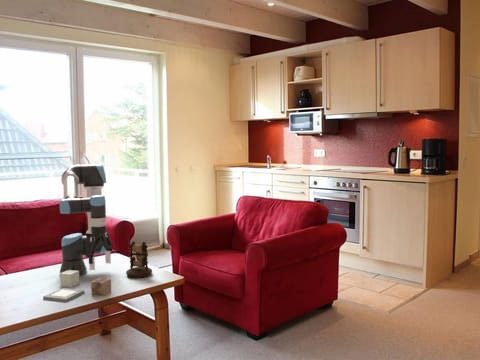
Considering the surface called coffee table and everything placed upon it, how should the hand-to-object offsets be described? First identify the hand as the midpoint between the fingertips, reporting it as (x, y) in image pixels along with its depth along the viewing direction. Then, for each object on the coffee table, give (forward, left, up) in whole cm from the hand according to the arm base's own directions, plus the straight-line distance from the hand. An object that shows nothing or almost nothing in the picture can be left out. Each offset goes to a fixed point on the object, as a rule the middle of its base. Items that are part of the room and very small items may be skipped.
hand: (100, 266), depth 241 cm
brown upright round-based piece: (+2, +34, -15) cm, 37 cm away
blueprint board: (-16, -9, -14) cm, 23 cm away
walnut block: (0, 0, -14) cm, 14 cm away
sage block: (-26, +8, -14) cm, 31 cm away
